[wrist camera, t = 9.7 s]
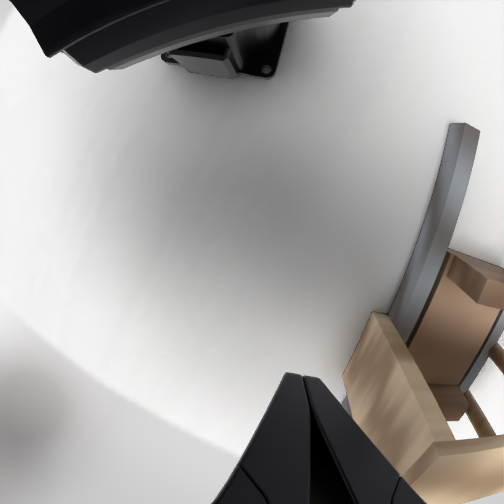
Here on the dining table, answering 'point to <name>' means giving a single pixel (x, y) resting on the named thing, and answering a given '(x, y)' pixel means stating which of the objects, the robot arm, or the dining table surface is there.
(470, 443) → the tunnel track
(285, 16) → the robot arm
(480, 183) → the dining table surface
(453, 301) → the sled
